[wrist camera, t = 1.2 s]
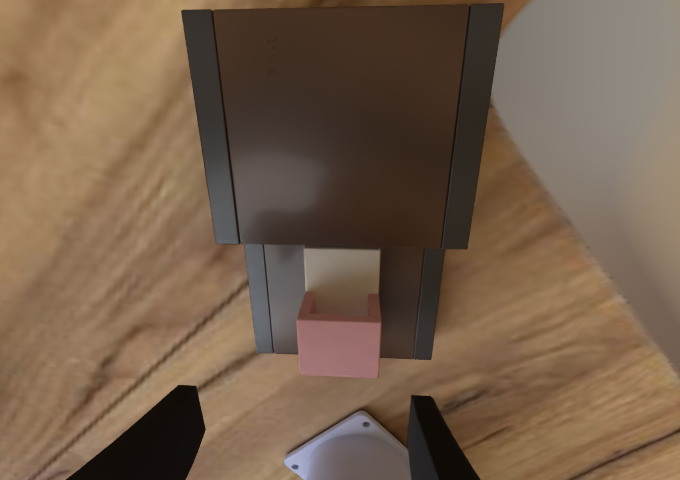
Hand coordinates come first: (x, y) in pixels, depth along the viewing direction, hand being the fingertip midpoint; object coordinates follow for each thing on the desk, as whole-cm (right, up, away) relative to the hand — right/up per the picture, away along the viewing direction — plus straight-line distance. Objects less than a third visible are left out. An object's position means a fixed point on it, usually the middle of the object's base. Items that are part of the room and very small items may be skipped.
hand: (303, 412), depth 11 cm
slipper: (+1, +3, +6) cm, 7 cm away
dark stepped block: (+2, +7, +7) cm, 10 cm away
